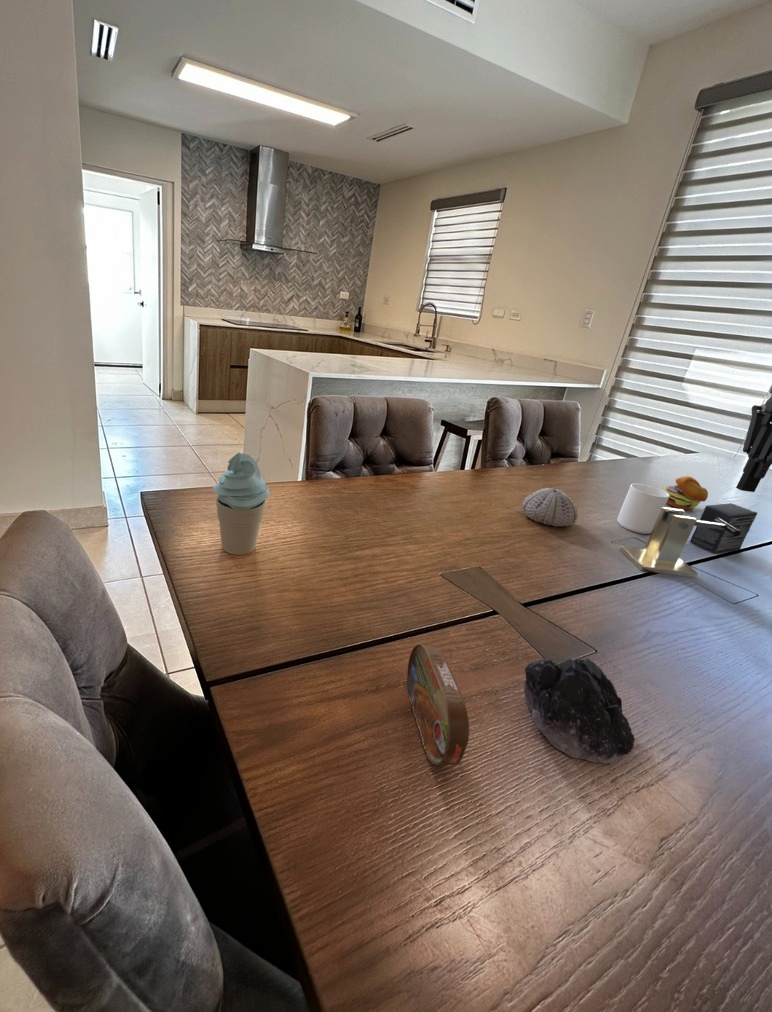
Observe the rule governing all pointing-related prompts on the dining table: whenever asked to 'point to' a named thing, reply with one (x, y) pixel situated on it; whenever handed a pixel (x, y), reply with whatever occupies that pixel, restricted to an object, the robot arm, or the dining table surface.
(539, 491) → the sea urchin shell
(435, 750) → the tin
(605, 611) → the dining table surface
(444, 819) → the dining table surface
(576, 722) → the crystal cluster
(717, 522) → the lever
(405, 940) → the dining table surface
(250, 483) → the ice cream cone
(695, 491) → the cheeseburger
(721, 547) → the small box
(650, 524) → the mug
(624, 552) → the bracket
